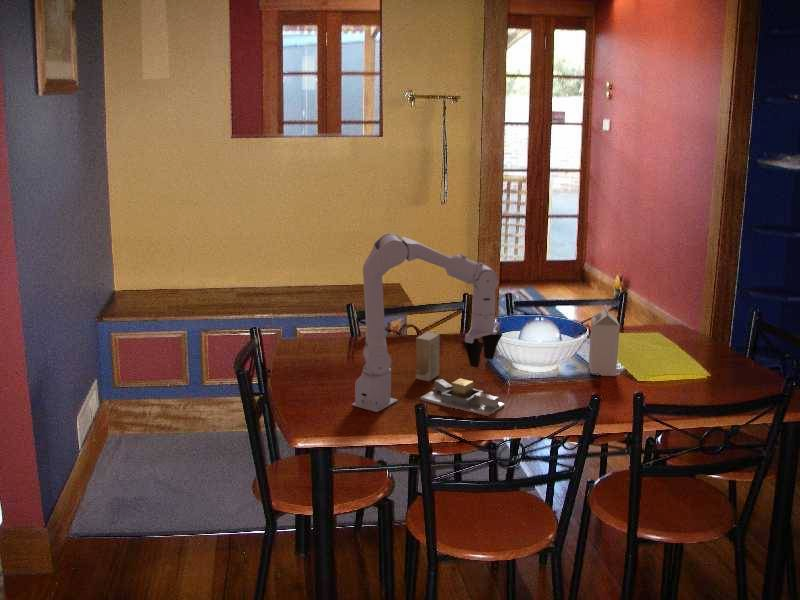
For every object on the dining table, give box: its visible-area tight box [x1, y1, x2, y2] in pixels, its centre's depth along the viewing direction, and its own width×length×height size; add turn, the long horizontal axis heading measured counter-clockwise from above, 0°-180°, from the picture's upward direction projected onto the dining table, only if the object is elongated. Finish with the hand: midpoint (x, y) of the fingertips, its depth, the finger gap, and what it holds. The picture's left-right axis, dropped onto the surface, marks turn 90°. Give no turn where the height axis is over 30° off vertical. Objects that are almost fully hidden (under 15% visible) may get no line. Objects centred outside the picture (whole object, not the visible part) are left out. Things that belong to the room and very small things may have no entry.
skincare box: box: [415, 331, 440, 382], centre depth 261 cm, size 6×4×12 cm
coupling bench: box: [420, 378, 506, 415], centre depth 244 cm, size 9×20×4 cm, turn 55°
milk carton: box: [588, 304, 621, 377], centre depth 266 cm, size 7×7×19 cm
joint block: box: [451, 378, 474, 399], centre depth 243 cm, size 4×4×5 cm
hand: (481, 362), depth 245 cm, fingers open, 7 cm apart
